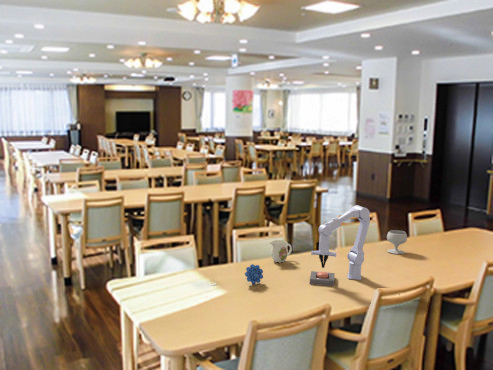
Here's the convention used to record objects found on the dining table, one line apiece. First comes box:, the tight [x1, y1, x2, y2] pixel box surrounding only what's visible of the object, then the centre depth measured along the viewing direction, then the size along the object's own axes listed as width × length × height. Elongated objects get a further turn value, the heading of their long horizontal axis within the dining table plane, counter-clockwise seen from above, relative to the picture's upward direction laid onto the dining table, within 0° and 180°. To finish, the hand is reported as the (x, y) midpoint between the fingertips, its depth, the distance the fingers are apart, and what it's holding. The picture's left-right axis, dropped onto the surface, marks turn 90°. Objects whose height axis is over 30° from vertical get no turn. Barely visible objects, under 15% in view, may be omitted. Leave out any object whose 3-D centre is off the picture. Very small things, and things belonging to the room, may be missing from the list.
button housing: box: [309, 270, 335, 287], centre depth 282 cm, size 14×14×3 cm
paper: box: [205, 282, 217, 298], centre depth 267 cm, size 25×17×1 cm
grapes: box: [244, 263, 264, 285], centre depth 273 cm, size 12×7×12 cm, turn 114°
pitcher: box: [269, 239, 293, 263], centre depth 316 cm, size 11×18×14 cm, turn 122°
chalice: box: [386, 229, 408, 255], centre depth 343 cm, size 14×14×15 cm
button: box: [316, 271, 329, 279], centre depth 281 cm, size 7×7×2 cm
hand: (323, 267), depth 280 cm, fingers closed
